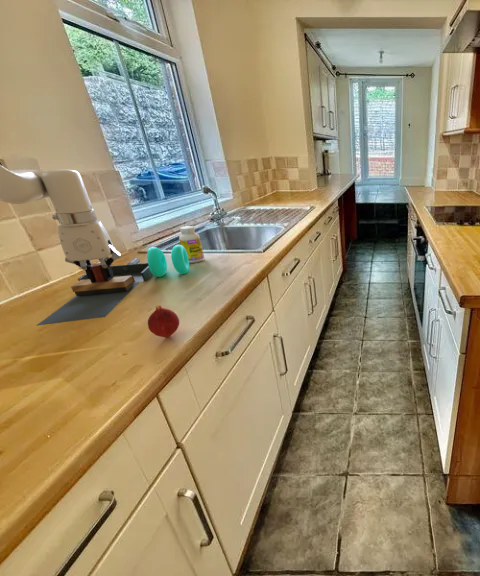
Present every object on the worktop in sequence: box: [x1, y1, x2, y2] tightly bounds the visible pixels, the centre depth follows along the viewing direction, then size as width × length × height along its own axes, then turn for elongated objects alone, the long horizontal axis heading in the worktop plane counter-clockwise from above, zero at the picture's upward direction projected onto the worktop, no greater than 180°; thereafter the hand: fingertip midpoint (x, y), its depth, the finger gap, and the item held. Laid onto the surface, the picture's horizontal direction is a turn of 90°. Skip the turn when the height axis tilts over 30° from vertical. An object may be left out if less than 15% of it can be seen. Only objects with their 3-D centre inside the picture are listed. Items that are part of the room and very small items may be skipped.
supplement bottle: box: [178, 225, 205, 264], centre depth 119 cm, size 7×7×13 cm
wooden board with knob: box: [70, 262, 134, 296], centre depth 93 cm, size 13×5×8 cm, turn 105°
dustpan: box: [77, 257, 153, 283], centre depth 108 cm, size 20×17×3 cm
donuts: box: [146, 244, 190, 278], centre depth 106 cm, size 10×10×10 cm
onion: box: [147, 304, 180, 338], centre depth 71 cm, size 6×6×8 cm
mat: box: [36, 282, 141, 326], centre depth 89 cm, size 14×24×1 cm, turn 17°
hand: (102, 279), depth 94 cm, fingers closed on wooden board with knob, 2 cm apart
